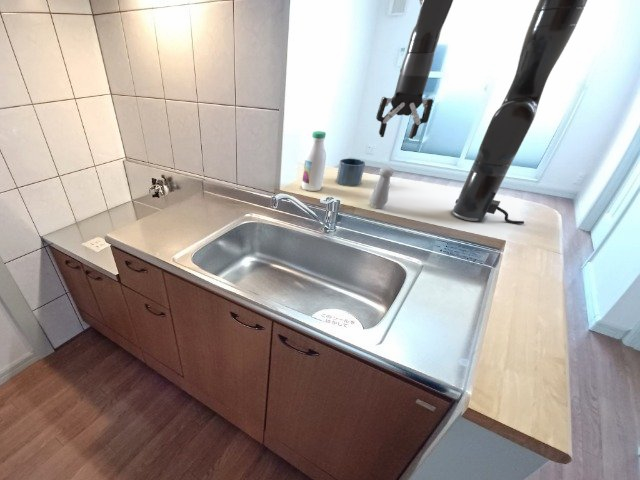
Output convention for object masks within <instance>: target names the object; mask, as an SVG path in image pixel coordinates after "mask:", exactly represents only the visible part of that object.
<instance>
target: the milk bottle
mask: <svg viewBox="0 0 640 480" xmlns="http://www.w3.org/2000/svg"><path fill="white" fill-rule="evenodd" d="M311 136H312V137H311V143H310V146H309V148H308V150H307V151H306V153H305V159H304V164H303V172H302V180H301V188H302V189H303V190H305V191H309V192H317V191H320V190H321V189H322V187H323V181H324V175H325V168H326V161H327V152H326V147H325V140H326V131H320V130H315V131H313V132H312V135H311Z"/></svg>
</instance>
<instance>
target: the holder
mask: <svg viewBox="0 0 640 480" xmlns="http://www.w3.org/2000/svg"><path fill="white" fill-rule="evenodd" d="M365 166H366V162H365V161H364V160H362V159H357V158H342V159H340V160H339V164H338V170H337V175H336V183H337V184H339V185H341V186H343V187H344V186H345V187H356V186H360V185H361V183H362V178H363V175H364V170H365Z"/></svg>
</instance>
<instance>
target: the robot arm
mask: <svg viewBox="0 0 640 480" xmlns="http://www.w3.org/2000/svg"><path fill="white" fill-rule="evenodd" d="M453 2H454V0H419V5H420V9H419V13H418V15H417V20H416V24H415V26H414V27H413V29H412V31H411V34H410V37H409V41H408V45H407V48H406V52H405V56H404V58H403V60H402V64H401V67H400V71H399V75H398V79H397V83H396V87H395V90H394V95H393V96H392V97H386V96H382V97H381V100H380V103H379V106H378V110H377V112H376V116H375V119H376V120H377V122H380V127H379V130H378V135H379V137H380V138H384V136H385V134H386V129H387V125H388V122H389V121H390V120H391V119H392V118H394V116H395V115H397V116H407V117H409V116H411V118H412V120H413V123H412V125H411V129H410V131H409V135H408V138H409V139H410V140H413V139H414V138H415V137H416V135H417V133H418V131H419V127H420V125H421V124H422V125H423V124H426V123H428V121H429V118H430V114H431V111H432V107H433V103H434V100H433V98H430V97H429V98H423V96H424V92H425V90H426V86H427V82H428V80H429V76H430V74H431V70H432V67H433V62H434V58H435V53H436V49H437V47H438V44H439V40H440V37H441V32H442V29H443V27H444V24H445V22H446V20H447V17H448V15H449V13H450V10H451V8H452V5H453ZM587 2H588V0H538V2H537V5H536V7H535V9H534V11H533V14H532V17H531V20H530V22H529V26H528V28H527V30H526V33H525V36H524V39H523V43H522V45H521V50H520V54H519V59H518V62H517V67H516V71H515V75H514V77H513V79H512V82H511V84H510V87H509V88H508V91H507V93H506V95H505V97H504V99H503V101H502V103H501V104H500V107H499V108H498V109H497V110H496V111H495V112H494V114H493V116H492V117H491V120H490V122H489V124H488V126H487V128H486V131H485V134H484V135H483V138H482V141H481V143H480V145H479V148H478V151H477V154H476V156H475V159H474V161H473V163H472V166H471V168H470V170H469V172H468V175H467V177H466V178H465V182H464V184H463V186H462V188H461V191H460V193H459V195H458V198H457V199H456V200H455V203H454V204H455V205H454V207H453V208H452V211H451V214H452V215H453V216H454V217H456V218H458V219H461V220H464V221H469V222H479V223H482V222H483V221H484V220H485V218H486V215H487V214H492V215H494V214H495V213H496V211H499V212H500V213H502V214H503V215H504V221H505V222H506V223H509V224H515V225H516V224H519V225H523V224H525V221H524V220H511V219H509V213H508V212H507V210H505V209H503V208H501V207H500V204H501V201H500V200H495V198H496V196H497V193H498V192H499V190H500V187H501V185H502V183H503V182H504V179H505V177H506V175H507V173H508V172H509V169H510V167H511V165H512V163H513V162H514V160H515V158H516V156H517V154H518V152H519V150H520V147H521V146H522V143H523V142H524V139H525V138H526V136H527V134H528V132H529V131H530V128H531V127H532V124H533V122H534V121H535V118H536V115H537V111H538V107H539V104H540V101H541V98H542V95H543V93H544V90H545V87H546V84H547V82H548V79H549V77H550V74H551V73H552V71H553V69H554V67H555V66H556V64H557V62H558V60H559V59H560V57H561V55H562V54H563V52H564V50H565V48H566V46H567V44H568V43H569V41H570V39H571V37H572V35H573V33H574V31H575V29H576V27H577V25H578V23H579V21H580V18H581V16H582V14H583V12H584V9H585V7H586V5H587ZM389 104H391V109H389V110H388V111H387V113H386V114H385V115H384V112H385V109H386V107H388V106H389ZM421 105H422V107H423V112H422V114H421V117H420V116H419V113H418V108H419V107H420V106H421Z"/></svg>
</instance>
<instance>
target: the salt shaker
mask: <svg viewBox="0 0 640 480" xmlns="http://www.w3.org/2000/svg"><path fill="white" fill-rule="evenodd" d="M378 172H379V173H378V175H379V177H378V180H377V182H376V184H375V188H374V189H373V191H372V194H371V196H370V197H369V202H370V203H369V204H370V206H371V207H372V208H373V209H379V210H380V209H383V208H384V207H385V206H386V204H387V203H388V201H389V194H390V184H391V177H393V175H394V173H395V170H394V168H393V167H390V166H383V167H381V168H380V169H379V171H378Z"/></svg>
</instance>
